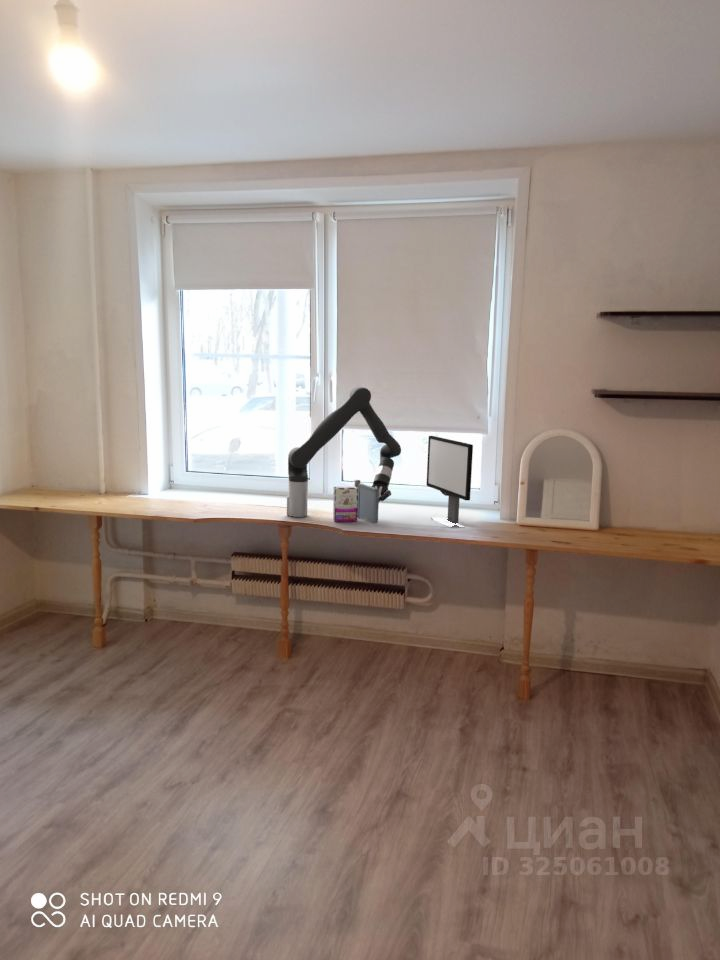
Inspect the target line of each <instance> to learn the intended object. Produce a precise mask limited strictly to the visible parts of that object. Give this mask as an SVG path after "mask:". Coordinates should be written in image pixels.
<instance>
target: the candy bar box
mask: <svg viewBox="0 0 720 960" xmlns="http://www.w3.org/2000/svg"><path fill="white" fill-rule="evenodd" d="M332 507H333V508H332V509H333V510H332V511H333V515H332V516H333V517H332V520H333V521H334V523H348V522H349V523H352V522H353V523H355V522H358V517H357V508H358V488H357V487H354V486H333V506H332Z"/></svg>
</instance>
